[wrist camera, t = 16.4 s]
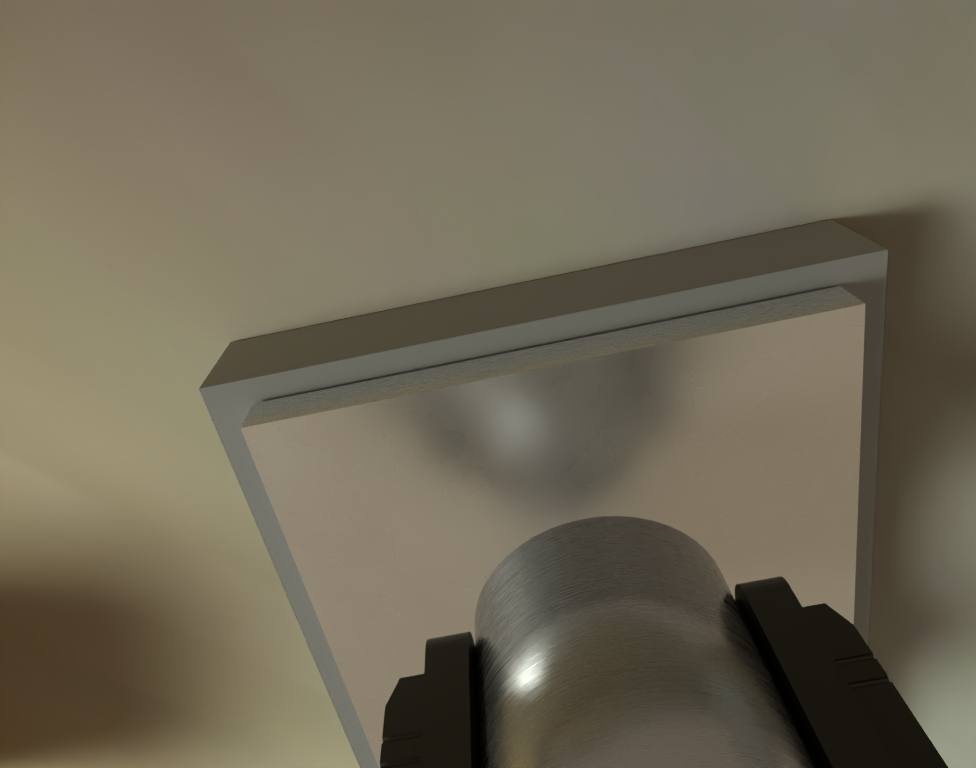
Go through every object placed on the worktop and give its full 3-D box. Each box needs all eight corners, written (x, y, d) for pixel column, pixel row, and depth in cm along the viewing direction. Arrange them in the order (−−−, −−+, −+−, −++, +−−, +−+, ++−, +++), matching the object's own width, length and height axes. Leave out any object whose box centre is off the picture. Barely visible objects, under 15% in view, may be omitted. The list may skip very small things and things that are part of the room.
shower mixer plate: (253, 403, 15) (240, 428, 14) (839, 286, 14) (865, 303, 14) (415, 820, 21) (414, 855, 20) (830, 749, 21) (847, 782, 20)
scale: (230, 342, 17) (189, 402, 14) (831, 219, 16) (905, 258, 14) (434, 865, 27) (432, 961, 24) (823, 800, 26) (866, 891, 23)
